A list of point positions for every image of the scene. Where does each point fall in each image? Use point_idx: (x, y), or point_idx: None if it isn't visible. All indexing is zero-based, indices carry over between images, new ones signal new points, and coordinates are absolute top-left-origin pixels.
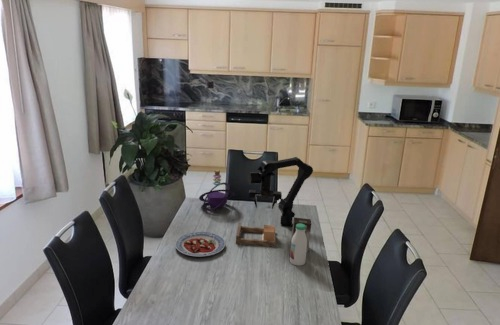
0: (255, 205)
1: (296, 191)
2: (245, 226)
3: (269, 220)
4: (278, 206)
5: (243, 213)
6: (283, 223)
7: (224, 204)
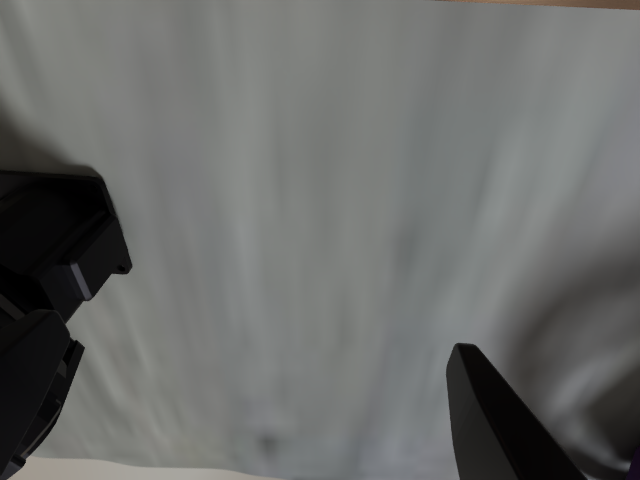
0: (523, 407)
1: None
2: (616, 4)
3: (246, 281)
4: (46, 414)
5: None
6: (75, 206)
7: (636, 470)
